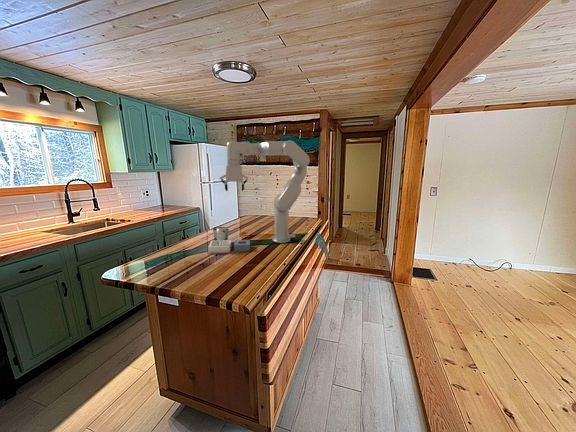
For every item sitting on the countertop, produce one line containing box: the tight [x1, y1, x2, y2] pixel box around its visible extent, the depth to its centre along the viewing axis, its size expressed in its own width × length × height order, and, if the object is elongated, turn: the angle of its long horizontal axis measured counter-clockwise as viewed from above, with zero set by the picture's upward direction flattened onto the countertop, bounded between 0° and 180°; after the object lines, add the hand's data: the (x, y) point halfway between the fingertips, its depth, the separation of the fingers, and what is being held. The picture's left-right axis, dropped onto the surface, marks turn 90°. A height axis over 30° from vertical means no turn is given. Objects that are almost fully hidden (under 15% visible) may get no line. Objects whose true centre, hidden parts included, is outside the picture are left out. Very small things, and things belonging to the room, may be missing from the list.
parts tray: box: [207, 239, 232, 255], centre depth 140 cm, size 12×12×4 cm
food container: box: [212, 226, 230, 241], centre depth 153 cm, size 12×6×10 cm, turn 58°
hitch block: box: [233, 239, 251, 253], centre depth 142 cm, size 9×9×4 cm
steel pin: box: [217, 228, 223, 246], centre depth 139 cm, size 3×3×12 cm
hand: (234, 190), depth 146 cm, fingers open, 9 cm apart
